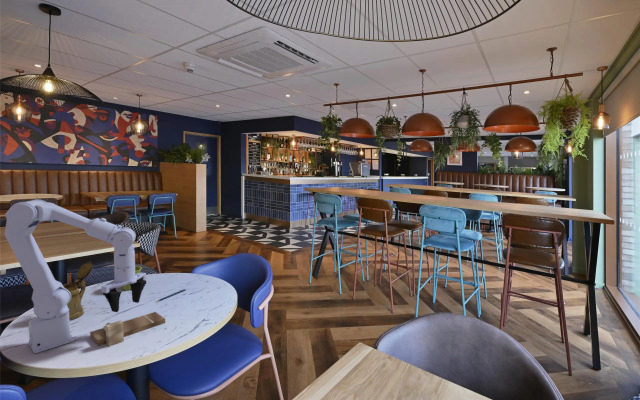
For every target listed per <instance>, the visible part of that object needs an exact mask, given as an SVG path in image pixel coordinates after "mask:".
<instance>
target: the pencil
mask: <svg viewBox="0 0 640 400" xmlns="http://www.w3.org/2000/svg"><path fill="white" fill-rule="evenodd" d="M185 291H187V290H186V289H185V288H184V289H181V290H179V291H176V292H173V293H171V294H169V295H167V296H164V297H162V298H160V299H158V300H156V301H155V303H160V302H162V301H164V300H166V299H169V298H171V297H173V296H176V295H178V294H181V293H184V292H185Z"/></svg>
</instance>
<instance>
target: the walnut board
mask: <svg viewBox="0 0 640 400" xmlns="http://www.w3.org/2000/svg"><path fill="white" fill-rule="evenodd" d="M122 322H123V333H124V338H126V337H128V336H131V335H133V334H137V333H140V332H143V331H145V330H148V329H151V328H154V327H157V326H161V325H163V324H165V323H166V318H165V317H163V316H162V315H161V314H159V313H158V312H157V311H153V312H150V313H148V314H143V315H140V316H137V317H134V318H131V319H128V320H125V321H122ZM89 333H90V338H91V340H93V341H94V343H95V344H96V345H97V346H102V345H105V344H106V332H105V331H104V330H103V327H101V328H99V329H95V330H93V331H90V332H89Z"/></svg>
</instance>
